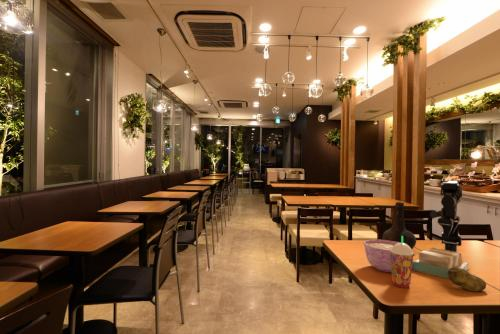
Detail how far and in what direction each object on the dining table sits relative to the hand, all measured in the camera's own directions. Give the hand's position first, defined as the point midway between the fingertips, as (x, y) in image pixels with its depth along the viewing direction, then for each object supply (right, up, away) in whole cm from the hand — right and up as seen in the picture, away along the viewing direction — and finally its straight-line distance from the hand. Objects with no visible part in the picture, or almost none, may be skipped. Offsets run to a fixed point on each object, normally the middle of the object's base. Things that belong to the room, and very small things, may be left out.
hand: (448, 236), depth 159 cm
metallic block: (-14, -13, -15) cm, 24 cm away
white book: (-13, -13, -13) cm, 23 cm away
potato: (-17, -13, -37) cm, 43 cm away
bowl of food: (-40, -12, -15) cm, 44 cm away
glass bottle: (-17, -13, +19) cm, 28 cm away
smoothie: (-42, -12, -35) cm, 56 cm away
